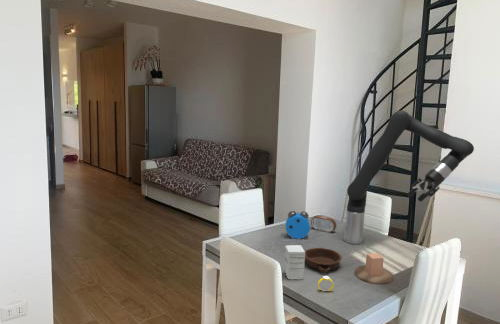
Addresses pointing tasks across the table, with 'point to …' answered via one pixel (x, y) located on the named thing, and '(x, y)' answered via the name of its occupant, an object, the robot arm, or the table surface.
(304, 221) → the alarm clock
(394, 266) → the table surface
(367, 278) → the post stand
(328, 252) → the dish
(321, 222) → the copper desk clock
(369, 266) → the salmon pink block
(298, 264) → the supplement box
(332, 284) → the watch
